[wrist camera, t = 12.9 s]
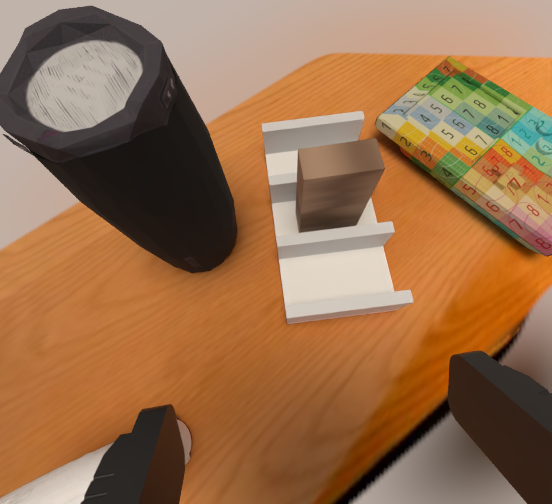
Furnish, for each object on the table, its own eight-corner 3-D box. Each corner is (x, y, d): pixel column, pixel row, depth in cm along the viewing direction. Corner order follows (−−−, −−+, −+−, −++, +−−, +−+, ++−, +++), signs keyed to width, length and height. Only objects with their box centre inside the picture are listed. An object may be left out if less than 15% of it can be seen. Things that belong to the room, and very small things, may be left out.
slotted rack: (287, 324, 28) (286, 318, 24) (265, 152, 35) (261, 123, 30) (395, 310, 28) (413, 302, 24) (353, 141, 35) (362, 110, 30)
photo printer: (79, 525, 24) (-119, 682, 12) (66, 466, 25) (-124, 559, 14) (200, 459, 25) (123, 546, 14) (182, 406, 27) (98, 445, 15)
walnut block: (299, 235, 30) (303, 180, 21) (295, 212, 31) (297, 149, 21) (355, 227, 30) (384, 168, 21) (349, 205, 31) (375, 138, 21)
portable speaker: (166, 195, 33) (14, -8, 15) (251, 205, 33) (202, 2, 14) (144, 271, 31) (-76, 137, 12) (236, 283, 30) (151, 161, 11)
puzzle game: (568, 248, 25) (379, 110, 30) (526, 264, 30) (368, 142, 35) (641, 162, 27) (453, 48, 33) (591, 189, 32) (433, 85, 37)
